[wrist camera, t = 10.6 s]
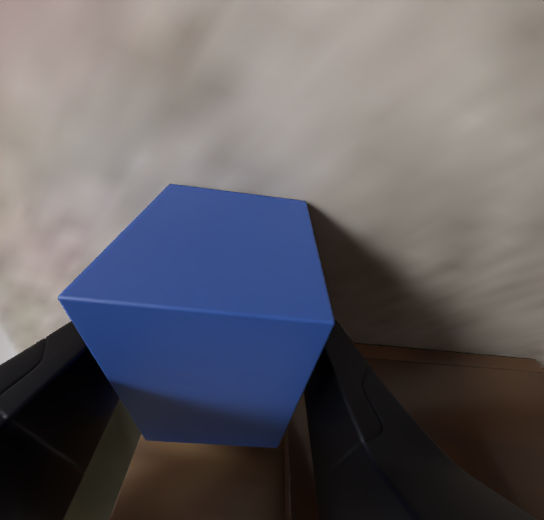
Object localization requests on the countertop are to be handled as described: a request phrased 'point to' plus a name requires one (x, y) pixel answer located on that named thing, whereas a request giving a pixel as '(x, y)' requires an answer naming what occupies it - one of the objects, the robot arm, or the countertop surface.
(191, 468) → the drawer
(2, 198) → the countertop surface
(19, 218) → the countertop surface
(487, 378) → the cabinet
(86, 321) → the block
